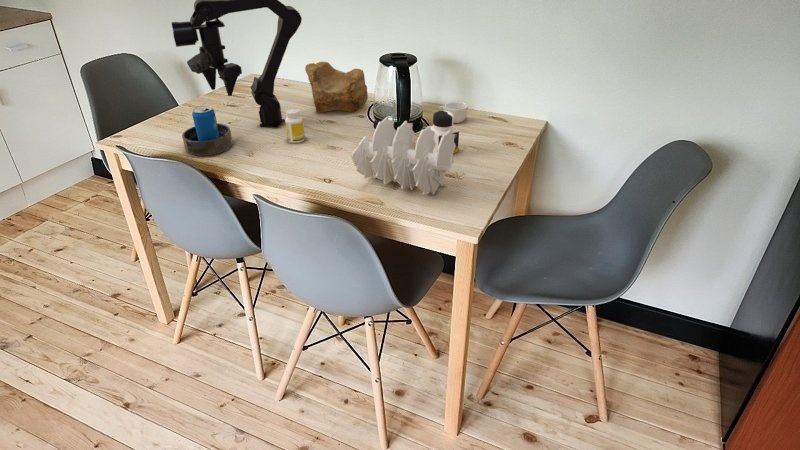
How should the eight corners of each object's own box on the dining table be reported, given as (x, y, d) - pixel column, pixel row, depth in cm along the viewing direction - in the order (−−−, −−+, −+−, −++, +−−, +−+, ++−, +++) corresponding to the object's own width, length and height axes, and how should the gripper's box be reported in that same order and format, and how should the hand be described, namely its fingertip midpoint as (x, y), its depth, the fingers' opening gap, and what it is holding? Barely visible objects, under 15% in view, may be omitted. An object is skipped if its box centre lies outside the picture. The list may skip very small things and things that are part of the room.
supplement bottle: (308, 138, 172) (304, 109, 166) (298, 144, 167) (294, 115, 162) (294, 135, 173) (290, 106, 168) (284, 141, 169) (280, 112, 164)
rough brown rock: (293, 114, 191) (286, 74, 181) (315, 95, 203) (310, 56, 193) (351, 125, 184) (348, 84, 174) (371, 104, 196) (369, 65, 186)
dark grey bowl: (240, 139, 171) (238, 124, 169) (219, 159, 160) (216, 143, 157) (200, 136, 174) (197, 121, 171) (176, 155, 162) (172, 140, 160)
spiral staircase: (377, 180, 155) (456, 196, 145) (344, 181, 140) (430, 199, 129) (386, 117, 152) (468, 129, 142) (353, 111, 137) (442, 123, 126)
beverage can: (215, 150, 163) (206, 113, 157) (196, 148, 165) (186, 112, 158) (225, 141, 169) (217, 105, 162) (206, 140, 170) (198, 104, 163)
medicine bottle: (438, 157, 159) (439, 119, 152) (426, 148, 164) (426, 111, 157) (458, 152, 161) (460, 114, 155) (446, 143, 167) (447, 106, 160)
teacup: (469, 118, 184) (470, 103, 181) (463, 126, 178) (464, 111, 175) (442, 114, 187) (442, 99, 184) (434, 122, 181) (435, 107, 178)
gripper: (171, 43, 162) (183, 93, 170) (205, 54, 151) (216, 106, 160) (203, 36, 169) (213, 84, 177) (238, 45, 158) (247, 96, 167)
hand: (221, 92), depth 170 cm, fingers open, 9 cm apart
